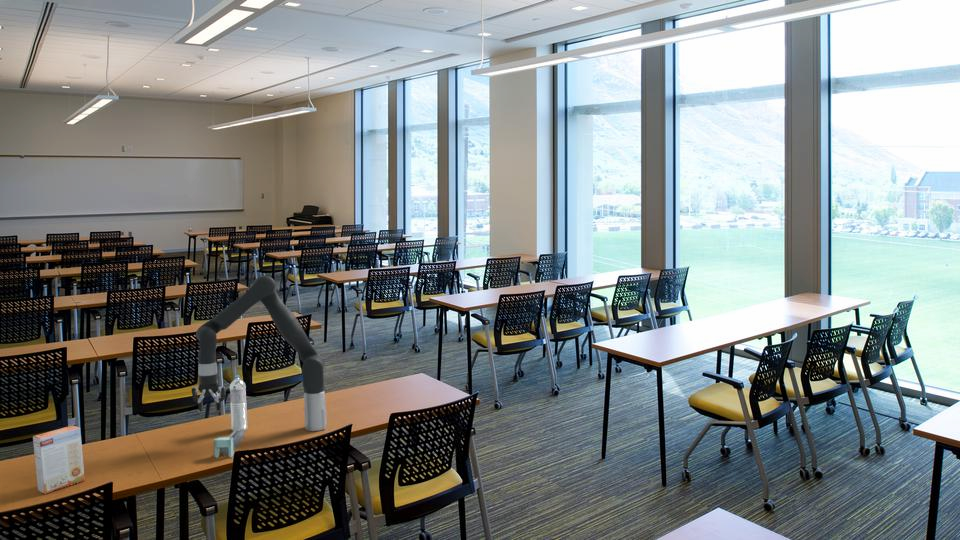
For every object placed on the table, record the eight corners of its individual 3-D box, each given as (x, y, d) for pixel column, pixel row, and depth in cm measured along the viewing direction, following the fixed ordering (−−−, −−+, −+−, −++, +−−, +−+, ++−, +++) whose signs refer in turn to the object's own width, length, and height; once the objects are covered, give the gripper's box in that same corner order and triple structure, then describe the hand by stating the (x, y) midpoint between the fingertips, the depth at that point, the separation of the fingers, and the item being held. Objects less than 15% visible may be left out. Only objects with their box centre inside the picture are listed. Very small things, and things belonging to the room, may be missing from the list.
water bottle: (242, 432, 307) (240, 378, 304) (228, 431, 308) (226, 377, 306) (250, 427, 314) (248, 374, 311) (236, 426, 315) (234, 373, 312)
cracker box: (77, 477, 259) (73, 424, 257) (85, 481, 256) (81, 427, 253) (36, 491, 248) (32, 435, 245) (44, 495, 244) (39, 438, 242)
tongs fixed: (230, 454, 281) (229, 444, 281) (221, 454, 281) (220, 444, 281) (244, 437, 301) (243, 428, 301) (235, 437, 301) (235, 428, 301)
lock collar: (231, 457, 278) (230, 439, 277) (214, 457, 278) (213, 440, 277) (233, 454, 281) (232, 437, 280) (217, 454, 281) (216, 437, 280)
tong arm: (228, 450, 285) (227, 441, 285) (224, 450, 285) (224, 441, 285) (239, 437, 301) (239, 428, 301) (235, 437, 301) (235, 428, 301)
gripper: (227, 370, 297) (229, 407, 299) (193, 370, 296) (195, 408, 298) (222, 374, 290) (224, 413, 292) (187, 375, 289) (189, 413, 291)
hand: (209, 410), depth 295 cm, fingers open, 6 cm apart
